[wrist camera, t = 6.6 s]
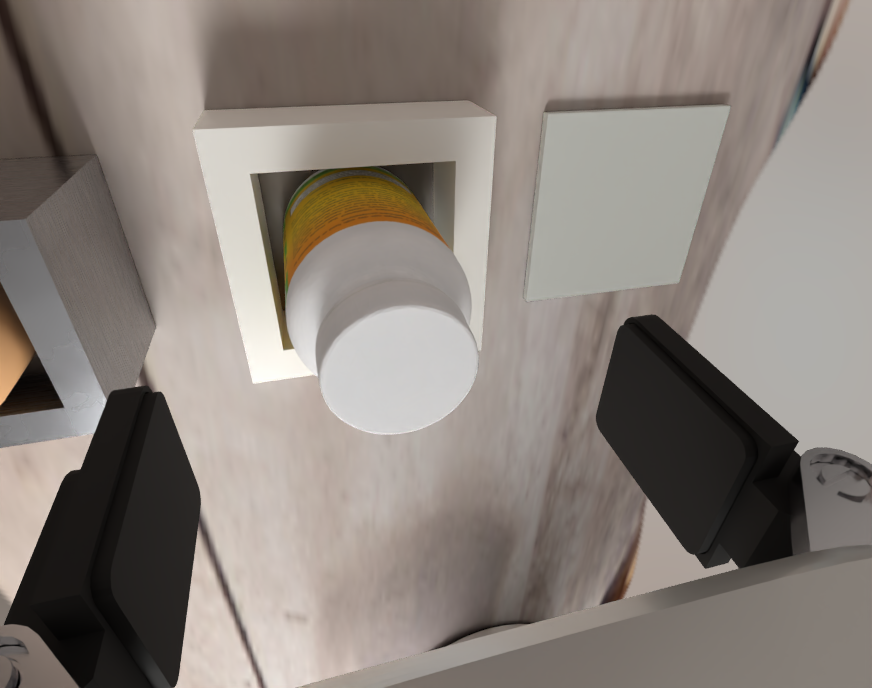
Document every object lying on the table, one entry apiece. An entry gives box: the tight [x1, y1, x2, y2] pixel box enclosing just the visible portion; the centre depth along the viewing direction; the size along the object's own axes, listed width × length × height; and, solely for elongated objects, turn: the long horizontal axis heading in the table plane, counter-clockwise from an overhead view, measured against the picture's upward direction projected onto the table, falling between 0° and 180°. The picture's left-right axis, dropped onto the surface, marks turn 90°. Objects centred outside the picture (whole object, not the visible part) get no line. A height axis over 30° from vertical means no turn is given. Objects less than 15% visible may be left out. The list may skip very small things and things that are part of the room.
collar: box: [192, 100, 497, 384], centre depth 19 cm, size 9×9×3 cm
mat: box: [523, 104, 731, 302], centre depth 23 cm, size 8×8×1 cm
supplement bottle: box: [283, 166, 479, 435], centre depth 17 cm, size 5×5×10 cm
